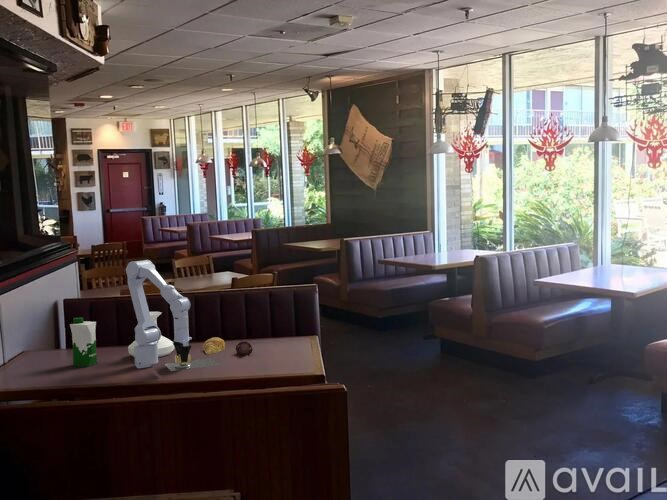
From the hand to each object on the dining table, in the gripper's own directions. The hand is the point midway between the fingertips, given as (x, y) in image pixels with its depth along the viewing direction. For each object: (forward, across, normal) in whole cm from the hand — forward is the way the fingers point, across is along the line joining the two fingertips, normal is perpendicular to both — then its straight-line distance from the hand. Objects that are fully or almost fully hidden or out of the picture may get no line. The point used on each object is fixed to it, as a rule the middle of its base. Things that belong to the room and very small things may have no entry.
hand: (182, 360), depth 277 cm
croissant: (+4, +26, -20) cm, 32 cm away
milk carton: (+4, +30, +35) cm, 46 cm away
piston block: (+3, +1, -4) cm, 5 cm away
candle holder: (+4, +31, +7) cm, 32 cm away
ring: (+1, 0, 0) cm, 1 cm away
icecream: (+4, +9, -29) cm, 31 cm away
